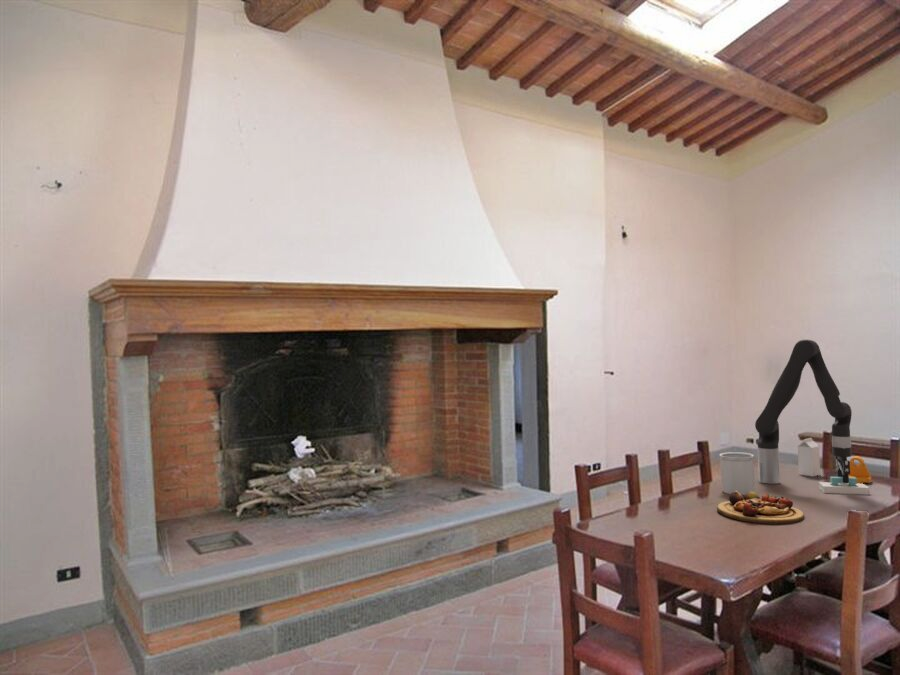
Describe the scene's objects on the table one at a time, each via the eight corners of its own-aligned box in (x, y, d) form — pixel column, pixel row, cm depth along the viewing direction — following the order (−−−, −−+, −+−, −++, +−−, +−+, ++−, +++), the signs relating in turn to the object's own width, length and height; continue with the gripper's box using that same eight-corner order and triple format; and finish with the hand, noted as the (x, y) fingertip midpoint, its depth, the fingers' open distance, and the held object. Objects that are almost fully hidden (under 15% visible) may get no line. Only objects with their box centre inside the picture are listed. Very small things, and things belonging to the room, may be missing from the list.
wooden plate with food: (776, 530, 229) (775, 508, 229) (701, 512, 256) (700, 492, 256) (820, 517, 246) (819, 496, 246) (745, 501, 273) (744, 482, 273)
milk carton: (820, 475, 316) (818, 438, 317) (812, 477, 313) (811, 440, 313) (806, 473, 323) (805, 437, 323) (798, 474, 319) (797, 438, 319)
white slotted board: (823, 492, 280) (823, 486, 280) (819, 488, 289) (818, 482, 289) (869, 494, 274) (869, 487, 274) (863, 490, 283) (863, 483, 283)
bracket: (843, 482, 300) (842, 457, 301) (845, 479, 306) (844, 455, 306) (869, 484, 293) (868, 459, 294) (871, 481, 299) (870, 457, 299)
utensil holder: (722, 494, 283) (721, 457, 284) (719, 487, 297) (717, 451, 298) (757, 496, 279) (756, 457, 279) (752, 488, 293) (751, 452, 293)
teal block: (832, 491, 282) (831, 477, 282) (830, 490, 285) (829, 476, 285) (857, 492, 279) (856, 478, 279) (855, 491, 281) (854, 477, 282)
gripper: (828, 443, 290) (829, 477, 290) (836, 448, 277) (838, 483, 276) (846, 443, 288) (848, 477, 287) (855, 448, 274) (857, 484, 274)
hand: (843, 480), depth 282 cm, fingers open, 8 cm apart
